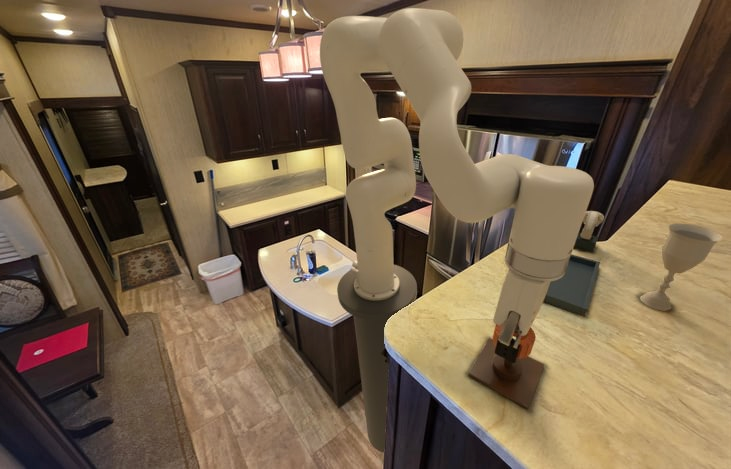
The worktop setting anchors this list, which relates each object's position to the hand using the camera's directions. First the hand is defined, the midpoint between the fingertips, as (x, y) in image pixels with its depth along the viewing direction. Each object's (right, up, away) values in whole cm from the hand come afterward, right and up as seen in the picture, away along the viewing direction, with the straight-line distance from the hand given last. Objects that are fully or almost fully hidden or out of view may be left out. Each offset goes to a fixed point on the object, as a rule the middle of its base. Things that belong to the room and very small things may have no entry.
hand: (511, 343), depth 49 cm
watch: (+39, +15, +36) cm, 56 cm away
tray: (+23, +7, +25) cm, 35 cm away
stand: (+1, -6, +3) cm, 7 cm away
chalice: (+40, +3, +15) cm, 43 cm away
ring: (0, 0, 0) cm, 0 cm away
